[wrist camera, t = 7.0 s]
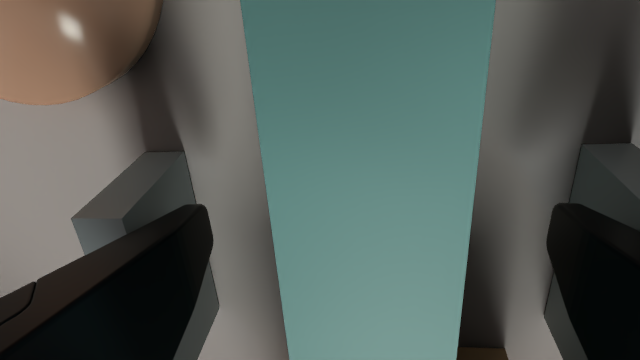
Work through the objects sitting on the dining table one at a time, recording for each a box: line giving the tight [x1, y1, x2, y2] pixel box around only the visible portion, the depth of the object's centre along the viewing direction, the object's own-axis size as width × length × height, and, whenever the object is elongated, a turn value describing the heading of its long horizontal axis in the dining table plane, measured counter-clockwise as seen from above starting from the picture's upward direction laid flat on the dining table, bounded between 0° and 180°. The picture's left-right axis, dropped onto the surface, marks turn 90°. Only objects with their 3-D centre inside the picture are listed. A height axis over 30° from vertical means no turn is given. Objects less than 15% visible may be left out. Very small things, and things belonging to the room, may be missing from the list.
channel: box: [71, 143, 640, 360], centre depth 10 cm, size 11×5×3 cm, turn 94°
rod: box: [240, 0, 496, 360], centre depth 9 cm, size 3×12×4 cm, turn 4°
